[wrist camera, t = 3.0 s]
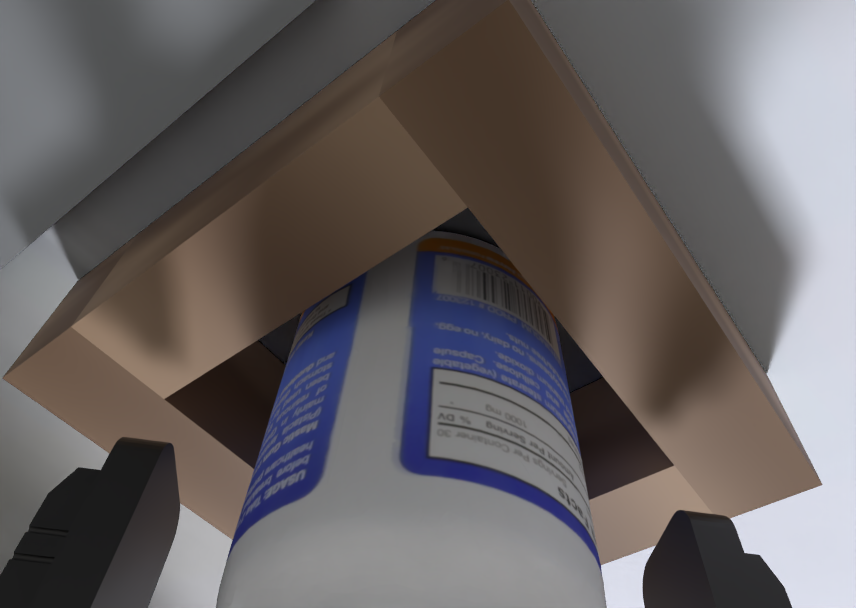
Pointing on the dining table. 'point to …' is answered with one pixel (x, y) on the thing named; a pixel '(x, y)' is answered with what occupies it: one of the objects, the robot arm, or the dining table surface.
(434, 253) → the pill bottle
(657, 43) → the dining table surface
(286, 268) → the walnut socket
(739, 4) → the dining table surface
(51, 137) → the slate mat
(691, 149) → the dining table surface
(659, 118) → the dining table surface
